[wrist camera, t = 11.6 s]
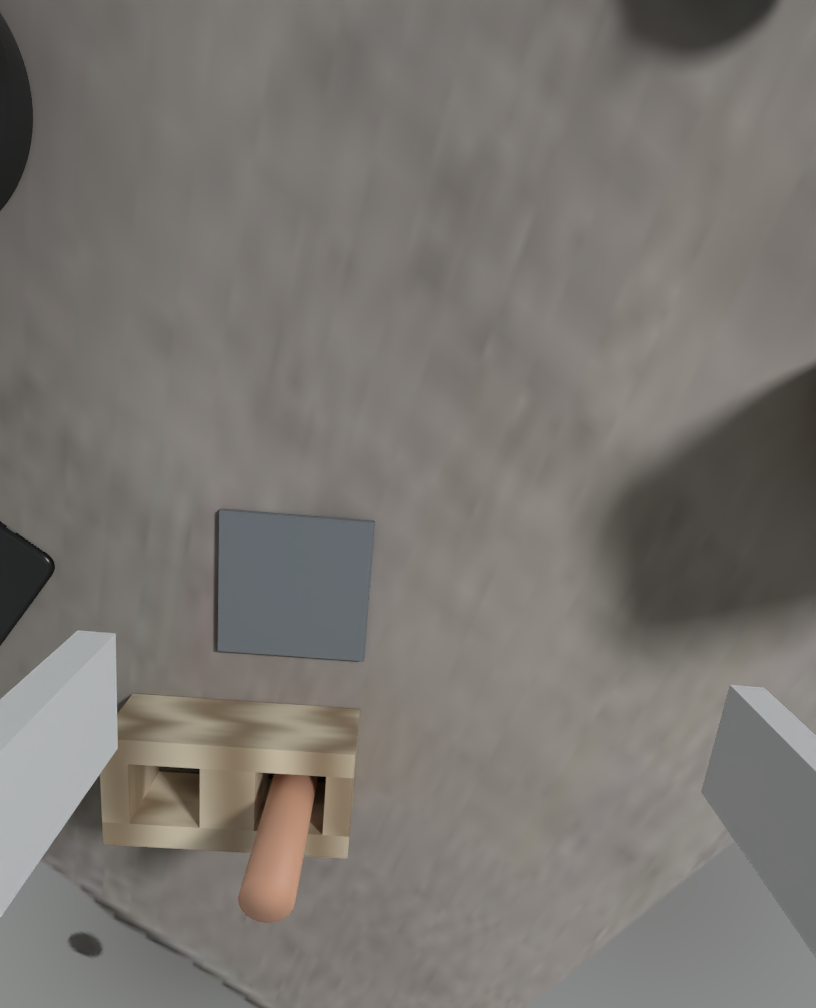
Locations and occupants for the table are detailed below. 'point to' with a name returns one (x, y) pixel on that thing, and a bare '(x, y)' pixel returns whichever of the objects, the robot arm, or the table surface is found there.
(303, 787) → the peg
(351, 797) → the hole block
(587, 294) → the table surface
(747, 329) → the table surface
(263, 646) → the mat
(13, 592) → the smartphone
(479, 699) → the table surface
